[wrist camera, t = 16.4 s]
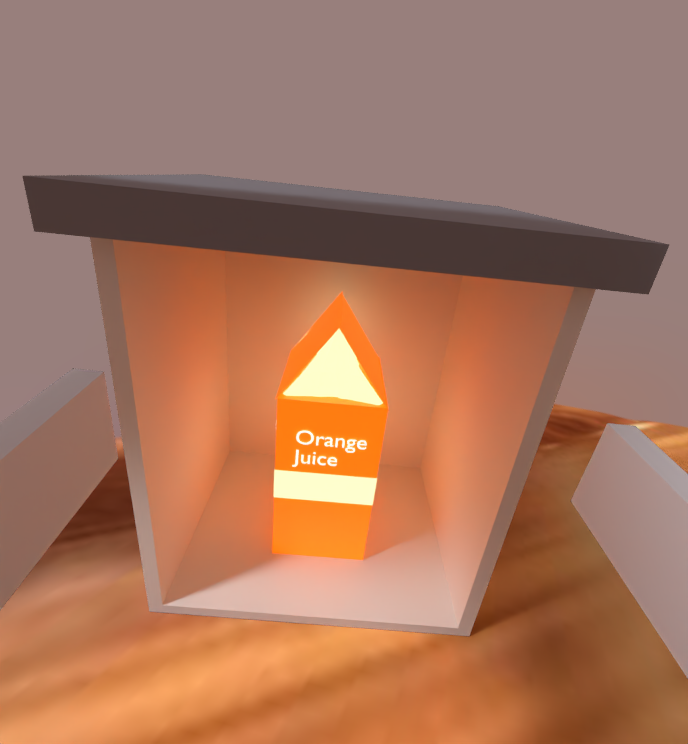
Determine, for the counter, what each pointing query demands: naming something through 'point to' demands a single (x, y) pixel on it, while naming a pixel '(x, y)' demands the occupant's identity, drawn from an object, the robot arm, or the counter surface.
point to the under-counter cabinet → (269, 359)
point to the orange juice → (328, 439)
